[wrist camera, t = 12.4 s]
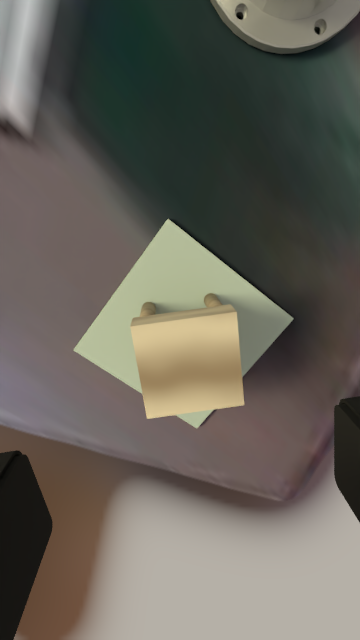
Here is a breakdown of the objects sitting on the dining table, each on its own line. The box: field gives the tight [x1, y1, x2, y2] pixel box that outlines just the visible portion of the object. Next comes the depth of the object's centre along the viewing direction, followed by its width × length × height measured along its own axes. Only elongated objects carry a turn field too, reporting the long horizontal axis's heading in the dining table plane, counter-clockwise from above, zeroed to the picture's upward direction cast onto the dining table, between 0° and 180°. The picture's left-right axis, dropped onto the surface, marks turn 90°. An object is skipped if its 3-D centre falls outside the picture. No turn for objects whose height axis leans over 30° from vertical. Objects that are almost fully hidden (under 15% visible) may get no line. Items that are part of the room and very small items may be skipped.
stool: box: [130, 293, 244, 419], centre depth 25 cm, size 7×7×7 cm
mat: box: [74, 219, 294, 428], centre depth 29 cm, size 14×14×1 cm
